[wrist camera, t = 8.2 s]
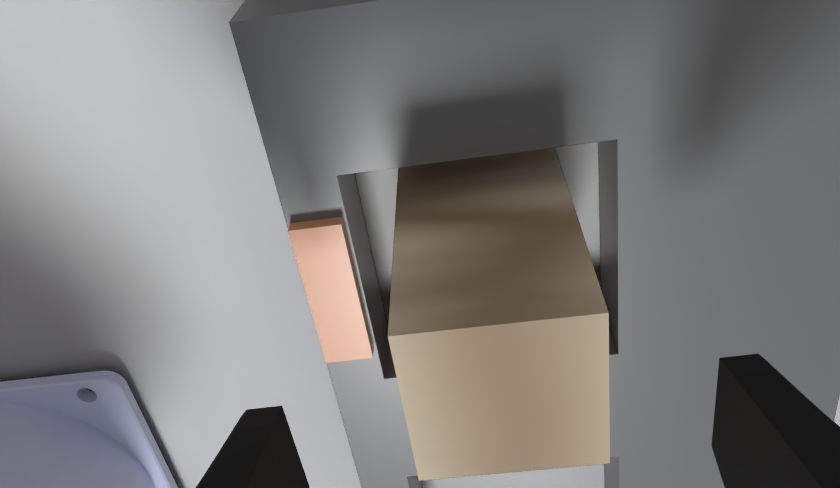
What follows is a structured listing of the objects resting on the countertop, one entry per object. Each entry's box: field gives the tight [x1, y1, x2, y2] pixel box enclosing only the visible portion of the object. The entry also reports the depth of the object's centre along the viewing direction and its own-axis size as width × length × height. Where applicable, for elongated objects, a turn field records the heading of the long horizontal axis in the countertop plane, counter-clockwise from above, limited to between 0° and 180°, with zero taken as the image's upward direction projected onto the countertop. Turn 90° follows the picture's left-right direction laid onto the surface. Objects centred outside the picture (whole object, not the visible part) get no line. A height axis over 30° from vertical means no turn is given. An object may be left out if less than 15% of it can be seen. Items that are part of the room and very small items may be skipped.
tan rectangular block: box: [388, 147, 610, 481], centre depth 15 cm, size 4×4×6 cm
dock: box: [229, 0, 840, 488], centre depth 19 cm, size 12×20×2 cm, turn 8°
